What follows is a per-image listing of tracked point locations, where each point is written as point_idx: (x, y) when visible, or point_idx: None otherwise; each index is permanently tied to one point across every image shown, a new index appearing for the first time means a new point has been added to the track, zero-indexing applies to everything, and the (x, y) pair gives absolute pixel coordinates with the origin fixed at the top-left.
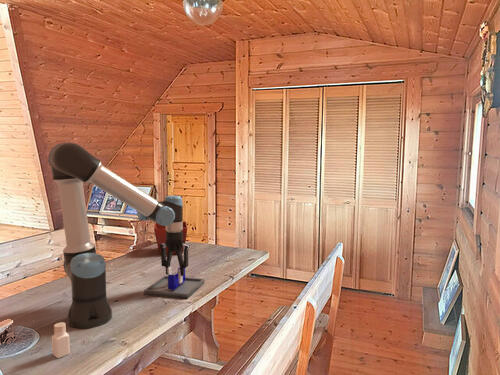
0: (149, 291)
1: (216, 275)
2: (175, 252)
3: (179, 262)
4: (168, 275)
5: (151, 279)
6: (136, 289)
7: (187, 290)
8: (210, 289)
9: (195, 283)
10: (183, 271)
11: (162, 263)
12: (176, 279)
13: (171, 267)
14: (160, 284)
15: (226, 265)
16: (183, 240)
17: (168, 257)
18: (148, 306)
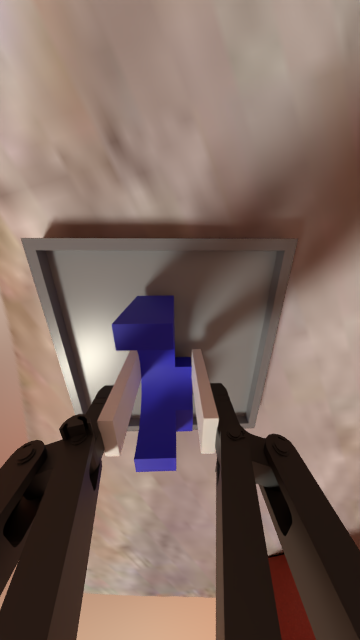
0: (261, 239)
1: None
2: (284, 563)
3: (64, 510)
4: (168, 326)
5: (299, 406)
6: (336, 299)
7: (86, 319)
8: (25, 370)
9: None
10: (90, 415)
11: (292, 465)
12: (169, 384)
13: (200, 445)
14: (242, 357)
15: (110, 529)
16: (281, 637)
17: (247, 622)
18: (192, 38)
